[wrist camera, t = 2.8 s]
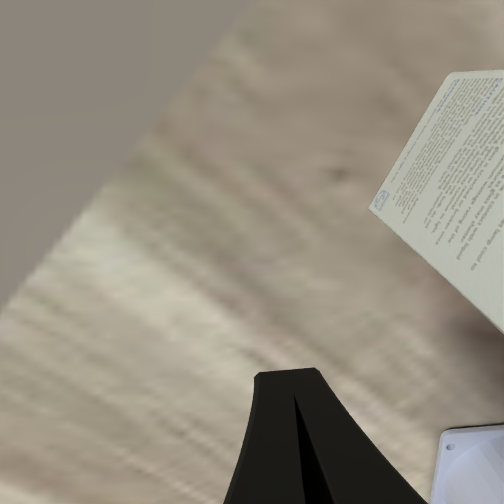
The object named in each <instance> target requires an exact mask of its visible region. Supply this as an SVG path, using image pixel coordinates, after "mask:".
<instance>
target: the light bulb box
mask: <svg viewBox="0 0 504 504" xmlns="http://www.w3.org/2000/svg"><path fill="white" fill-rule="evenodd" d="M369 210H370V211H371V212H372V213H373V214H374V215H376V216H377V217H378V218H379V219H380V220H381V221H382V222H383V223H384V224H386V225H387V226H388V227H389V228H390V229H391V230H392V231H393V232H394V233H395V234H397V235H398V236H399V237H400V238H401V239H402V240H403V241H404V242H405V243H407V244H408V245H409V246H410V247H411V248H412V249H413V250H414V251H415V252H416V253H417V254H419V255H420V256H421V257H422V258H423V259H424V260H425V261H426V262H427V263H428V264H429V265H430V266H432V267H433V268H434V269H435V270H436V271H437V272H438V273H439V274H440V275H441V276H442V277H444V278H445V279H446V280H447V281H448V282H449V283H450V284H451V285H452V286H453V287H454V288H455V289H456V290H457V291H458V292H460V293H461V294H462V295H463V296H464V297H465V298H466V299H467V300H468V301H469V302H470V303H471V304H472V305H473V306H475V307H476V308H477V309H478V310H479V311H480V312H481V313H482V314H483V315H484V316H485V317H486V318H487V319H488V320H489V321H490V322H491V323H493V324H494V325H495V326H496V327H497V328H498V329H499V330H500V331H501V332H502V333H503V334H504V69H503V70H486V71H468V72H453V73H450V74H449V75H448V76H447V78H446V79H445V80H444V82H443V84H442V85H441V87H440V88H439V90H438V92H437V93H436V95H435V97H434V98H433V100H432V102H431V103H430V105H429V107H428V108H427V110H426V112H425V114H424V115H423V117H422V119H421V120H420V122H419V124H418V125H417V127H416V129H415V130H414V132H413V134H412V136H411V137H410V139H409V141H408V142H407V144H406V146H405V147H404V149H403V151H402V153H401V154H400V156H399V158H398V159H397V161H396V162H395V164H394V166H393V168H392V169H391V171H390V173H389V175H388V176H387V178H386V180H385V181H384V183H383V184H382V186H381V188H380V189H379V191H378V193H377V195H376V196H375V198H374V200H373V201H372V203H371V205H370V206H369Z"/></svg>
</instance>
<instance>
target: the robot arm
mask: <svg viewBox="0 0 504 504" xmlns="http://www.w3.org/2000/svg"><path fill="white" fill-rule="evenodd" d="M223 504H428V503H427V502H426V501H425V500H424V499H423V498H422V497H421V496H420V495H419V494H418V493H417V492H416V491H415V490H414V489H413V488H412V487H411V486H410V484H409V483H408V482H407V481H406V480H405V479H404V478H403V477H402V476H401V475H400V474H399V472H398V471H397V470H396V469H395V468H394V467H393V466H392V465H391V464H390V463H389V461H388V460H387V459H386V458H385V457H384V456H383V454H382V453H381V452H380V451H379V450H378V449H377V447H376V446H375V445H374V444H373V443H372V441H371V440H370V439H369V438H368V437H367V435H366V434H365V433H364V432H363V431H362V429H361V428H360V427H359V426H358V424H357V423H356V422H355V421H354V419H353V418H352V417H351V416H350V414H349V413H348V412H347V410H346V409H345V408H344V406H343V405H342V404H341V402H340V401H339V399H338V398H337V397H336V395H335V394H334V392H333V391H332V390H331V388H330V387H329V385H328V384H327V382H326V381H325V379H324V378H323V376H322V375H321V373H320V371H318V370H317V369H316V368H303V369H292V370H280V371H269V372H259V373H258V374H257V375H256V376H255V377H254V394H253V401H252V407H251V412H250V417H249V422H248V426H247V430H246V433H245V437H244V441H243V445H242V448H241V452H240V455H239V459H238V462H237V465H236V468H235V471H234V474H233V477H232V480H231V483H230V486H229V489H228V492H227V495H226V497H225V500H224V503H223ZM429 504H504V425H496V426H485V427H473V428H461V429H449V430H446V431H444V432H443V433H442V434H441V437H440V443H439V449H438V455H437V461H436V467H435V473H434V479H433V485H432V491H431V497H430V503H429Z"/></svg>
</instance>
